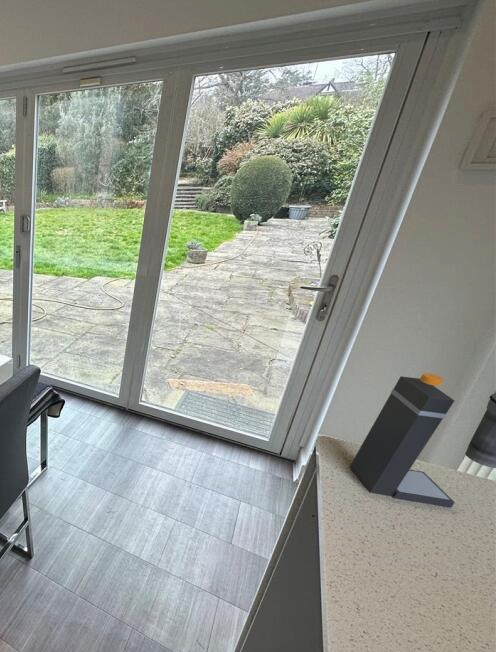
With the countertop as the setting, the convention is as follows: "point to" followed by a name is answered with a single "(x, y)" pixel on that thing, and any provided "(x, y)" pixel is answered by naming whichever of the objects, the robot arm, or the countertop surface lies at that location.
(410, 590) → the countertop surface
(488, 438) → the beverage cup
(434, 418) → the espresso machine
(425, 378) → the brew button
